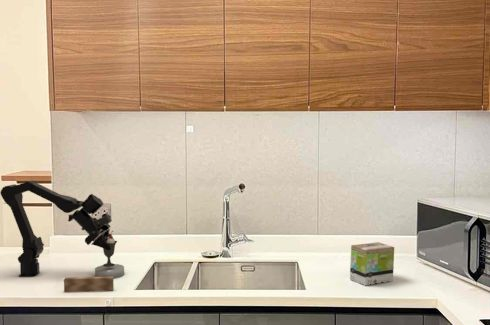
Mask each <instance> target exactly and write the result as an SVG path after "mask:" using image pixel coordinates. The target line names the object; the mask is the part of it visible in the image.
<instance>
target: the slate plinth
mask: <svg viewBox="0 0 490 325" xmlns="http://www.w3.org/2000/svg"><path fill="white" fill-rule="evenodd" d="M114 264H115V265H114V266H111V267H105V266H103V265H104V264H102V265H98V266H96V267H95V268H94V277H113V280H114V279H118V278H121V277H123V276H125V266H124V265H123V264H117V263H114Z"/></svg>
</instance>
